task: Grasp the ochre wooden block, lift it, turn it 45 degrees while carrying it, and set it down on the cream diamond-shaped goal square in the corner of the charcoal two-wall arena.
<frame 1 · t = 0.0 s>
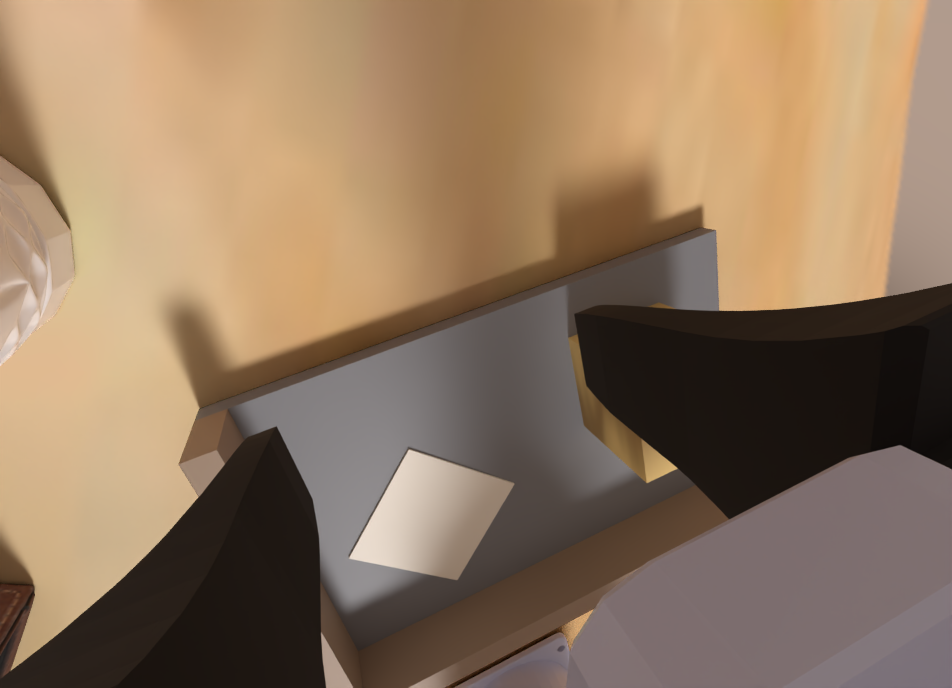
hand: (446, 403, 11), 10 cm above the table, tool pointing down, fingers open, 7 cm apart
ochre block: (620, 365, 24), point 1 cm above the table, touching arena
arena: (515, 450, 25), on the table
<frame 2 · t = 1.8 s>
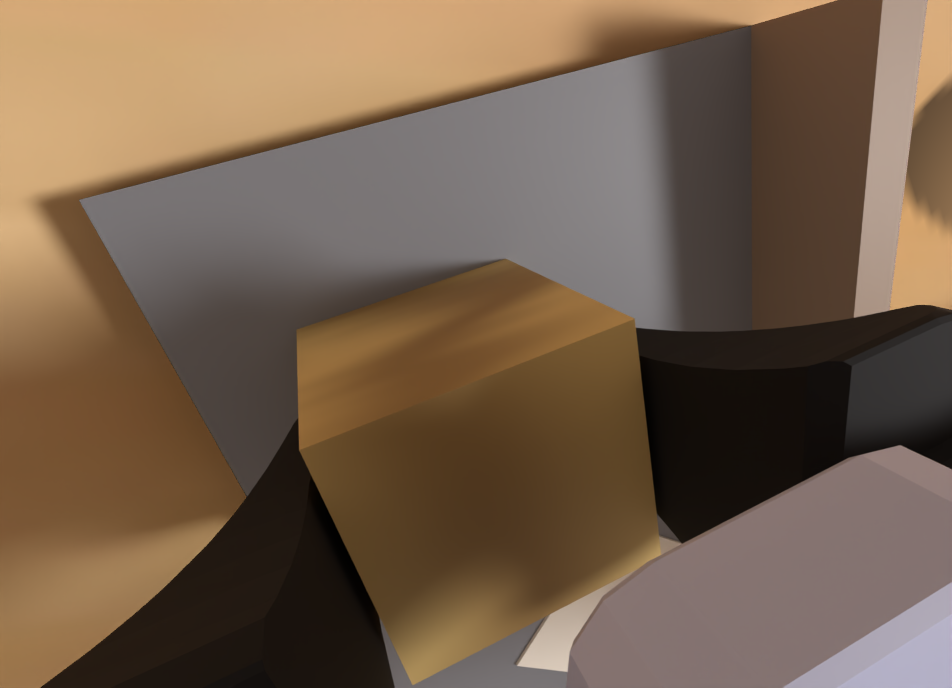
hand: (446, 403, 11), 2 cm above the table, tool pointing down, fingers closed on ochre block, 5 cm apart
ochre block: (435, 385, 12), point 1 cm above the table, touching arena, gripper
arena: (562, 495, 16), on the table
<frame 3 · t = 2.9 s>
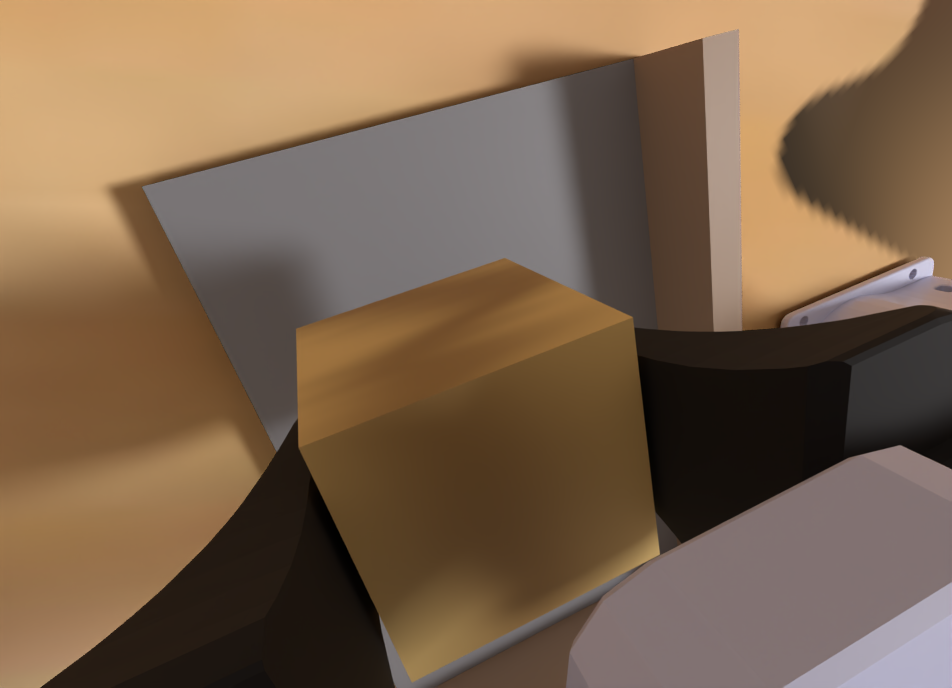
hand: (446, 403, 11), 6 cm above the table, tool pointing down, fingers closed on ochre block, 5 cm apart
ochre block: (434, 384, 12), point 5 cm above the table, touching gripper
arena: (507, 428, 20), on the table
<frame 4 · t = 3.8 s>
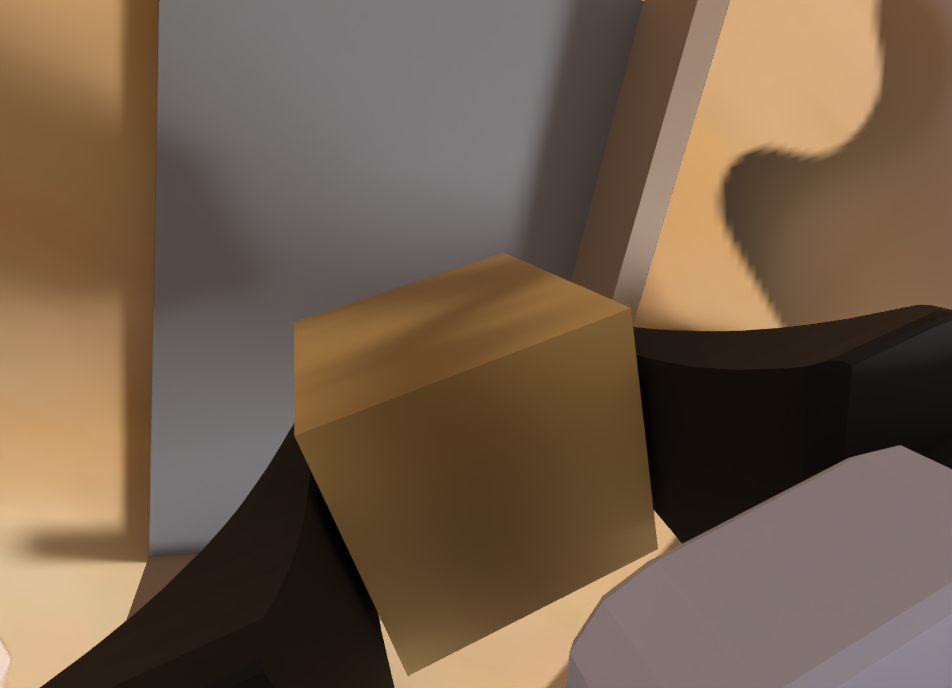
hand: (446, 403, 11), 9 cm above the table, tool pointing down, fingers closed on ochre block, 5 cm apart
ochre block: (433, 379, 12), point 8 cm above the table, touching gripper
arena: (399, 295, 19), on the table
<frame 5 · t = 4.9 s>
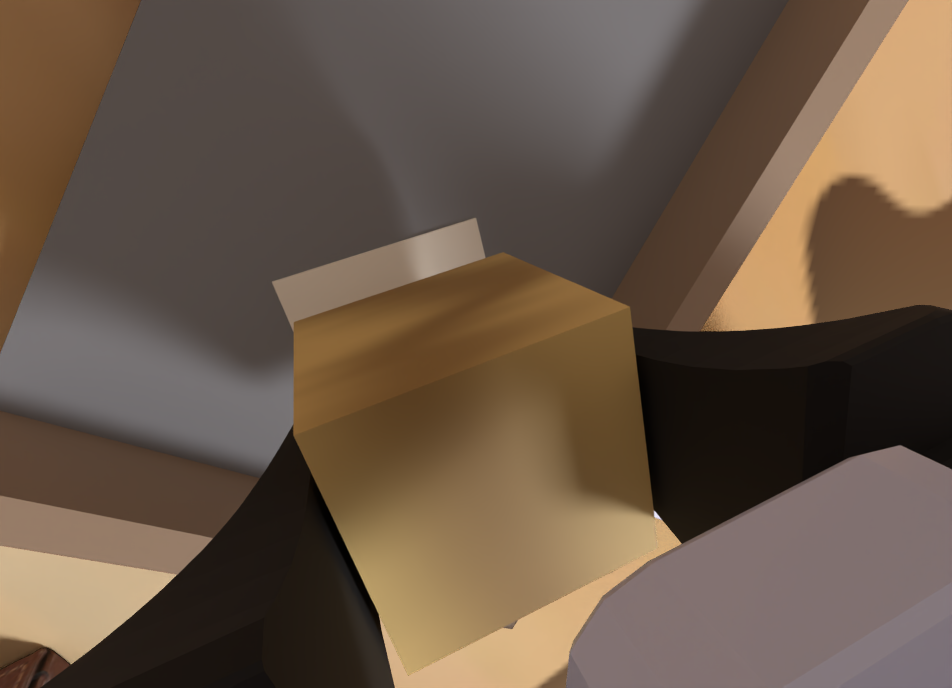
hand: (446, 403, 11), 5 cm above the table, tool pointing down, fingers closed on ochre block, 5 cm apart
ochre block: (433, 379, 12), point 4 cm above the table, touching gripper
arena: (449, 175, 15), on the table
when the fingers open (3 cm above the table, at t = 5.8 s): ochre block drops 1 cm, resting on arena.
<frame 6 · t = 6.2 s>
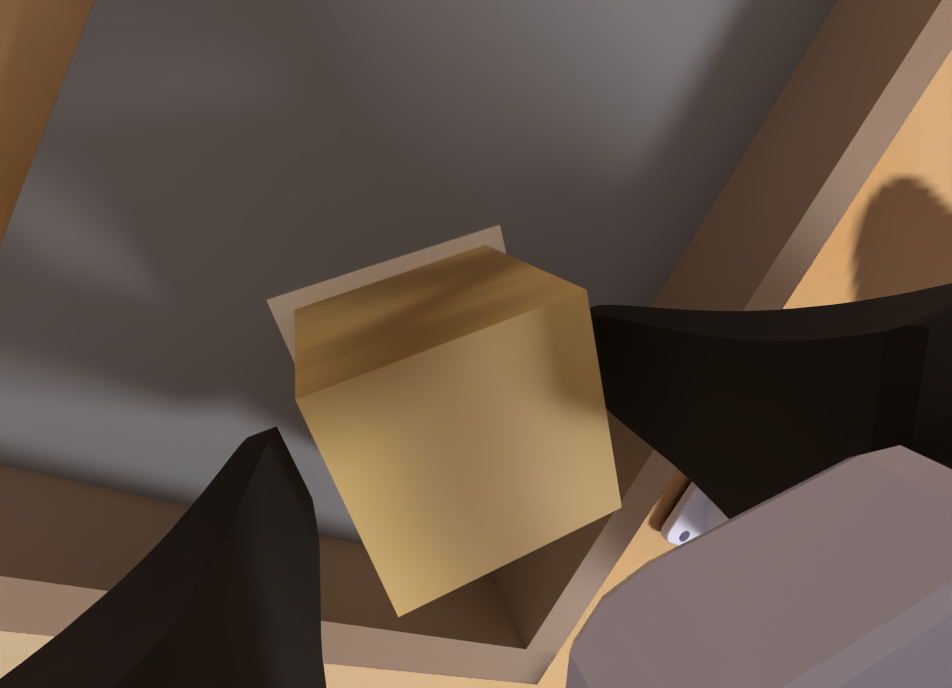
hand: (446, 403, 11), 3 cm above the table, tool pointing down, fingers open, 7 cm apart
ochre block: (422, 362, 13), point 1 cm above the table, touching arena
arena: (468, 176, 13), on the table
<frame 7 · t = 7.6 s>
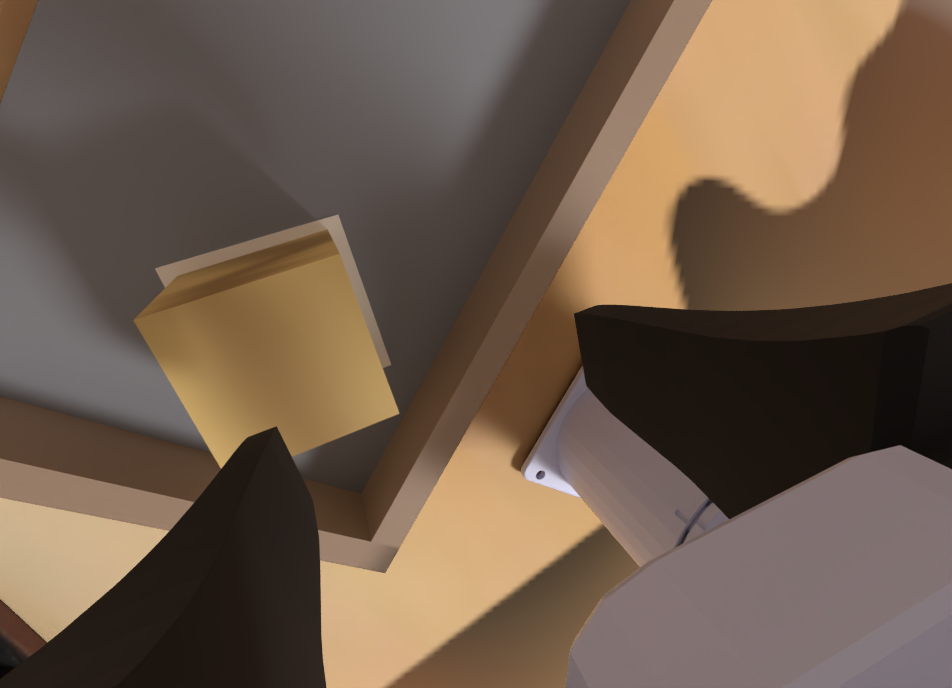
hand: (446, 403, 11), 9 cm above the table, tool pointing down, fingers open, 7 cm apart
ochre block: (284, 318, 18), point 1 cm above the table, touching arena
arena: (318, 178, 17), on the table
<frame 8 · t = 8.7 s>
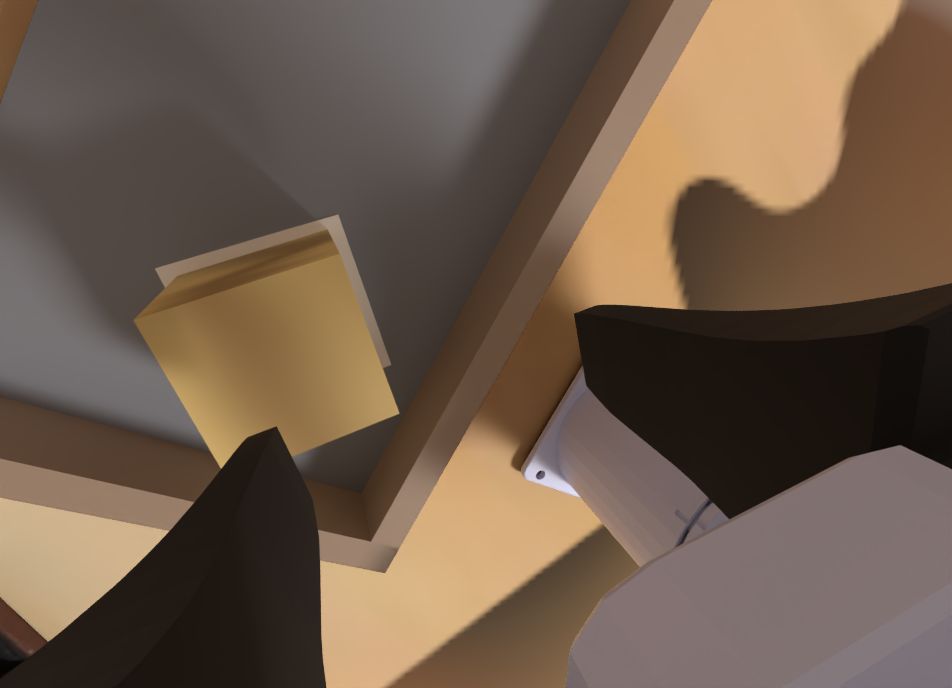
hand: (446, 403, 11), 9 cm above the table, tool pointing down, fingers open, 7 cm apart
ochre block: (284, 318, 18), point 1 cm above the table, touching arena
arena: (318, 178, 17), on the table
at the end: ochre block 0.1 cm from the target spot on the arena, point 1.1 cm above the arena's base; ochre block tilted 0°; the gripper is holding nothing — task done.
